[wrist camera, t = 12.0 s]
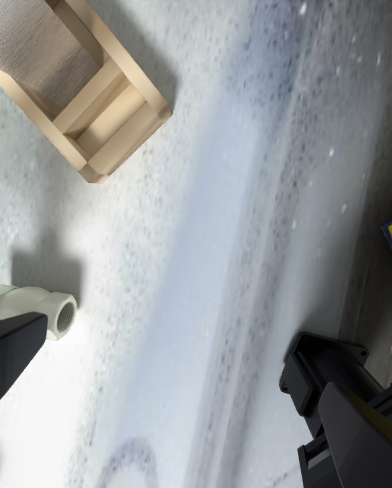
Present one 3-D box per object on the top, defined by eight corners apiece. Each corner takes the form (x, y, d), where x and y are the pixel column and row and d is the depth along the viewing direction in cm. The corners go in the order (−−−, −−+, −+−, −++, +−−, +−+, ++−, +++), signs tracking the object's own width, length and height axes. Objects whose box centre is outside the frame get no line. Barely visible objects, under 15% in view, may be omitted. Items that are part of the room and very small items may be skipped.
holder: (172, 114, 17) (168, 103, 15) (101, 183, 19) (87, 182, 17) (64, -22, 16) (42, -55, 14) (-6, 65, 17) (-36, 46, 15)
